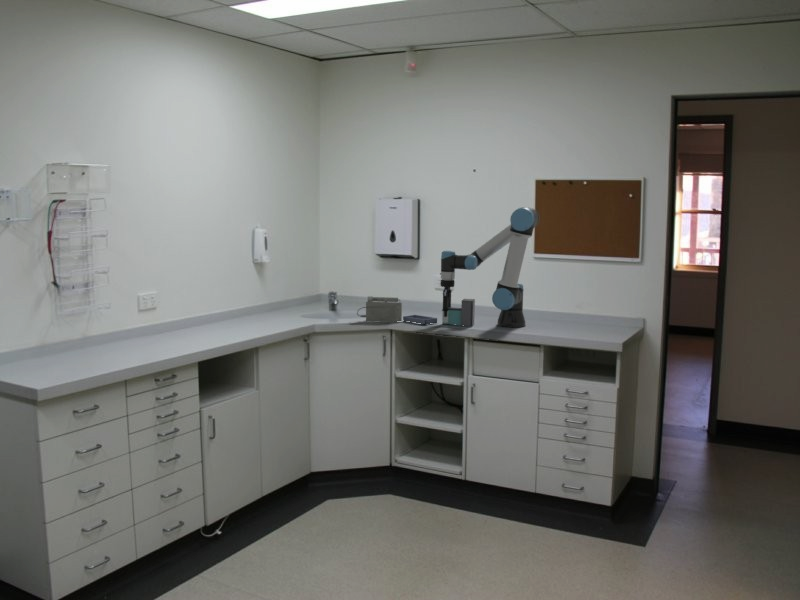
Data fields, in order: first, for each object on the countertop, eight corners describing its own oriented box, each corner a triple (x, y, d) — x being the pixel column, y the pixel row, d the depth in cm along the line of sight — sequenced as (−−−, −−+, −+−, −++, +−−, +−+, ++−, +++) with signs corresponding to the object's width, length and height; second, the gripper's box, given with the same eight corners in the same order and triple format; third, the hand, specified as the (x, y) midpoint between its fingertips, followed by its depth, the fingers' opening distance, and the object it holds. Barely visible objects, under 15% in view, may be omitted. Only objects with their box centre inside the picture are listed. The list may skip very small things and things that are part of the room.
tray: (437, 323, 411) (437, 318, 411) (425, 325, 404) (425, 319, 404) (414, 319, 423) (414, 314, 422) (403, 321, 416) (403, 316, 415)
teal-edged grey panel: (465, 324, 408) (465, 308, 407) (464, 325, 404) (464, 309, 403) (443, 323, 411) (444, 307, 410) (442, 324, 407) (442, 308, 405)
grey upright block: (474, 324, 409) (474, 299, 407) (472, 326, 401) (472, 300, 399) (463, 324, 410) (463, 298, 408) (461, 326, 403) (461, 300, 401)
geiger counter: (402, 296, 416) (357, 295, 418) (401, 297, 409) (356, 296, 412) (402, 321, 417) (357, 320, 420) (400, 323, 411) (355, 321, 414)
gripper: (443, 277, 415) (442, 319, 418) (437, 280, 398) (436, 324, 401) (457, 278, 413) (455, 319, 416) (451, 281, 396) (450, 324, 399)
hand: (446, 321), depth 408 cm, fingers closed on teal-edged grey panel, 4 cm apart
